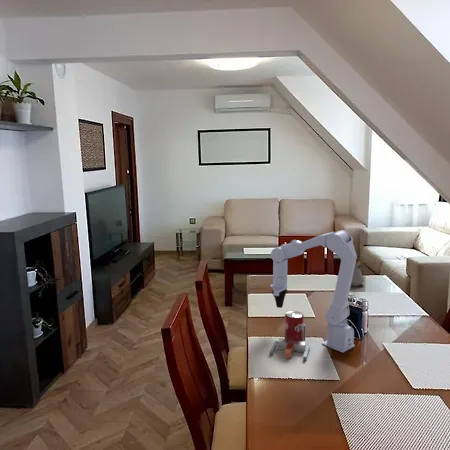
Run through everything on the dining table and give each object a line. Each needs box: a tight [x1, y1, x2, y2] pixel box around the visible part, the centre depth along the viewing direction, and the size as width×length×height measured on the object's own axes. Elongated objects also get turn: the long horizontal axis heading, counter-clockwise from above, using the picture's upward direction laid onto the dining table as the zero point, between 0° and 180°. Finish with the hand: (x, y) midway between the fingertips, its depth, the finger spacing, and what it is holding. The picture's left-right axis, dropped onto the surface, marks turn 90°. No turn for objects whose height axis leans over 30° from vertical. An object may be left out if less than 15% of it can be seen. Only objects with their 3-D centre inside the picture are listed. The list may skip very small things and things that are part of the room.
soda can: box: [283, 310, 305, 342], centre depth 158 cm, size 7×7×12 cm
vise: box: [269, 323, 311, 362], centre depth 156 cm, size 18×13×6 cm
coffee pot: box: [351, 260, 365, 287], centre depth 225 cm, size 21×12×15 cm, turn 175°
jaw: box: [277, 337, 307, 360], centre depth 151 cm, size 9×10×3 cm
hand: (279, 307), depth 170 cm, fingers closed
